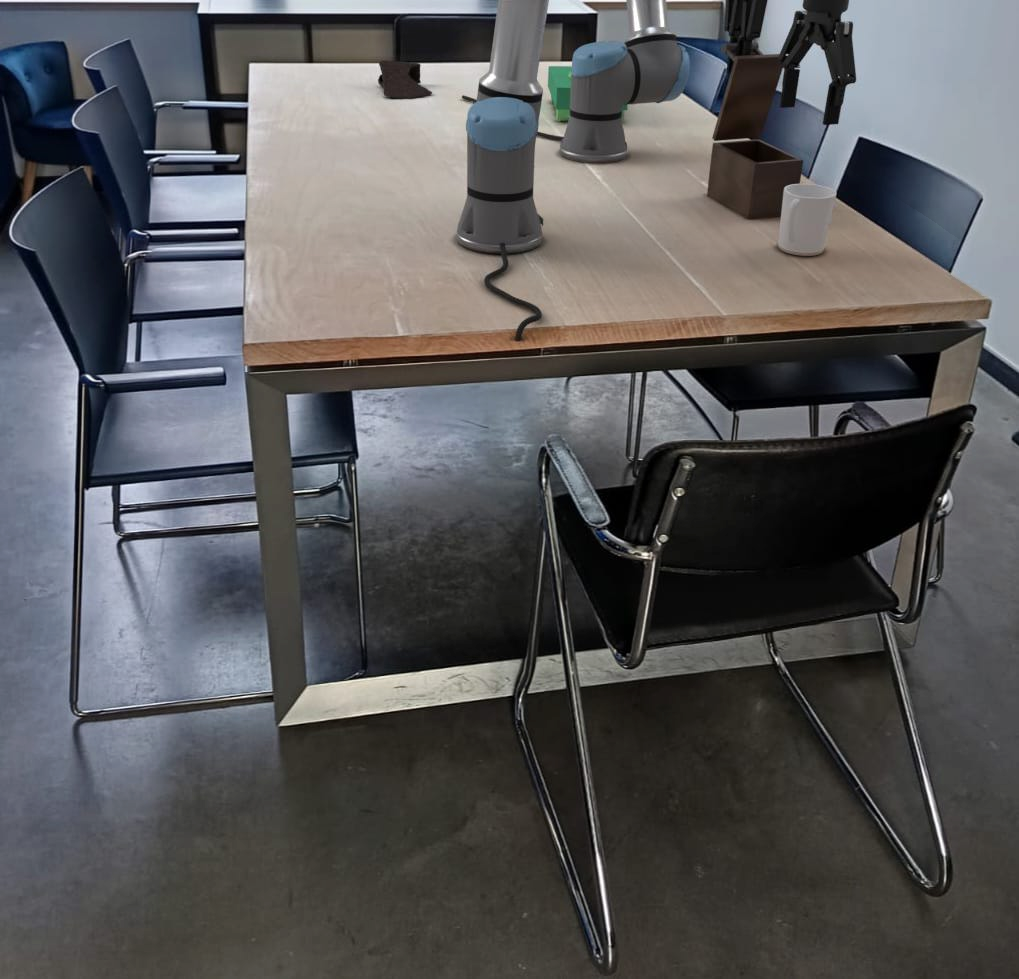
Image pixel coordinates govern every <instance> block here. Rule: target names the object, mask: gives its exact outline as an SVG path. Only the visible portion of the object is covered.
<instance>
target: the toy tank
mask: <svg viewBox="0 0 1019 979" xmlns="http://www.w3.org/2000/svg"><path fill="white" fill-rule="evenodd" d="M571 67H572V65H569V66H568V65H567V66H565V65H548V72H547V88H548V91H549V94H550V100H551V103H553V105H554V108H555V117H556V118H555V119H556V121H558V122H561V121H562V122H563V121H564V122H565V121H566V122H568V121H569V116H570V93H571ZM628 106H629V105H623V107H622V121H624V113H625V111H628Z"/></svg>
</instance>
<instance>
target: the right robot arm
mask: <svg viewBox="0 0 1019 979" xmlns="http://www.w3.org/2000/svg"><path fill="white" fill-rule="evenodd" d="M768 2H769V0H725V3H724V4H725V6H724V7H725V8H724V24H723V26H724V28H723V29H724V32H727V33H728V36H729V43H737V50H736V54H735V56H749V55H752V54H751V47H752V42H754V41H755V40H756V39H760V37H761V36H762V35H761V34H762V30H763V24H764V19H765V15H766V10H767V6H768ZM667 8H668V7H667V0H626V9H627V10H626V11H627V19H628V21H627V22H628V30H629V34H628V36H627V37H626V39H625V40H624V41H623V42H622V41H616V40H609V41H606V40H605V41H595V42H591V43H587V44H584V45H583V44H582V45H581V46H579V47H578V48H577V49H576V50H575V51H574V52H573V53H572V54H573V55H572V59H571V60H572V61H571V66H572V67H571V93H570V116H569V121H567V124H566V127H565V131H564V136H562V135H561V136H560V135H555V134H549V133H545V132H541V131H538V132H537V135H536V137H537V136H538V137H541V138H545V139H548V140H554V141H559V142H560V145H559V155H560V156H562V157H563V158H566V159H568V160H570V161H571V160H572V161H576V162H581V163H593V164H596V163H597V164H603V163H605V164H606V163H613V162H619V161H621V160H624V159H625V158H627V157H628V150H629V148H628V142H627V141H626V135H625V130H624V126H623V120H622V107H623V105H628V106H629V105H639V104H652V103H655V104H662V103H664V102H665V103H666V102H672V101H675V100H676V99H678V98H679V97H680V96H681V95H682V94H683V92H684V90H685V88H686V85H687V84H688V81H689V76H690V72H691V71H690V70H691V62H690V55H689V53H688V52H687V49H686V47H685V46H682V45H680V44H678V41H677V34H676V33H675V32H674V31H673V30H672V29H670V27H669V19H668V18H669V17H668V9H667ZM733 63H734V61H733V60H732V59H731V58H730V57H729V56H728V55H727V62H726V70H725V73H726V74H731V70H732V67H733ZM461 99H462V100H465V101H469V102H470V103H473V104H474V103H476V101H477V98H473V97H470V96H467V95H465V94H464V95H463V94H462V96H461Z"/></svg>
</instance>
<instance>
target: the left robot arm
mask: <svg viewBox="0 0 1019 979" xmlns="http://www.w3.org/2000/svg"><path fill="white" fill-rule="evenodd" d="M549 3H550V0H498V1H497V9H496V17H495V23H494V24H495V25H494V32H493V38H492V39H493V40H492V46H491V53H490V60H489V69H488V71H487V72H486V73H485V74H484V75H483V76H481V77H480V78H479V80H478V87H477V88H478V89H477V95H476V100H477V101H476V103H474V102H473V104H472V105H471V106H470V107H469V109H468V111H467V117H466V120H465V121H466V122H465V131H466V169H467V170H466V192H467V193H466V198H465V202H464V205H463V209H462V211H461V214H460V218H459V220H458V224H457V228H456V241H457V243H458V244H459V245H461V246H462V247H464V248H466V249H468V250H470V251H475V252H479V253H486V254H497V255H499V254H500V256H501V261H502V265H501V267H500V268H498V269H496V270H494V271H492V272H490V273H488V274H487V275H485V276H484V280H483V283H484V285H485V287H486V288H487V289H488V290H489V291H491V292H493V293H495V294H496V295H498V296H500V297H502V298H503V299H505V300H507V301H509V302H510V303H514V304H516V305H518V306H521V307H523V308H527V309H528V310H531V311H532V312H533V313H534V315H531V316H528V317H527V318H525V319H524V320H522V321H521V322H520V323H519V325H518V326H517V329H516V331H515V336H514V341H515V342H521V340H522V336H523V332H524V330H525V328H526V327H527V326H528V325H530V324H532V323H535V322H538V321H539V320H540V319H542V316H543V313H542V311H541V309H540V308H539V306H537V305H535V304H533V303H532V302H529V301H526V300H523V299H520V298H519V297H515V296H514V295H511V294H509V293H507V292H506V291H504V290H502V289H500V288H498V287H496V286H495V285H493V284H492V283H491V280H492V279H494V278H495V277H497V276H500V275H502V274H504V273H505V272H506V271H507V270H508V268H509V258H508V256H507V255H508V254H517V253H524V252H527V251H530V250H533V249H536V248H538V247H539V246H540V245H541V244H542V243H543V229H542V227H543V226H544V218H543V217H542V216H541V215H540V214H539V212H538V210H537V206H536V204H535V199H534V184H535V181H534V180H535V157H536V156H535V154H536V141H537V132H539V125H540V124H539V121H540V113H541V108H542V102H543V95H544V88H543V87H542V85H541V84H540V82H539V81H538V73H539V66H540V60H541V54H542V47H543V41H544V35H545V29H546V28H545V27H546V21H547V17H548V16H547V15H548V9H549ZM849 3H850V0H802V8H803V10H796V11H795V12H794V15H793V21H792V24H791V27H790V29H789V31H788V34H787V36H786V38H785V41H784V43H783V44H782V46H781V50H780V52H779V53H778V54H779V57H778V63H782V64H783V74H782V81H781V83H782V86H781V94H780V102H779V108H781V109H787V108H795V105H796V100H797V94H798V93H797V92H798V86H799V80H800V79H799V78H800V73H801V69H800V68H801V65H800V63H801V62H802V61H803V60H804V59H805V57H806V56H807V54H808V52H809V51H810V50H811V48H812V46H813V45H814V44H815V45H816V46H818V47H820V49H821V50H822V51H823V52H824V56H825V59H826V64H827V68H828V70H829V74H830V79H831V82H830V83H829V84H828V87H827V88H828V89H827V95H826V100H825V106H824V107H825V108H824V112H823V114H824V115H823V119H822V125H824V126H831V125H832V126H833V125H839V123H840V118H841V110H842V106H843V104H844V100H845V95H846V94H845V93H846V88H847V87H848V85H851V84H856V82H857V72H856V64H855V63H856V60H855V53H854V43H853V31H854V22H853V21H842V14H843V13H845V12H846V11H848V10H849V5H850V4H849ZM517 580H518V575H516V574H515V573H514V572H511V581H517Z"/></svg>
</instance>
